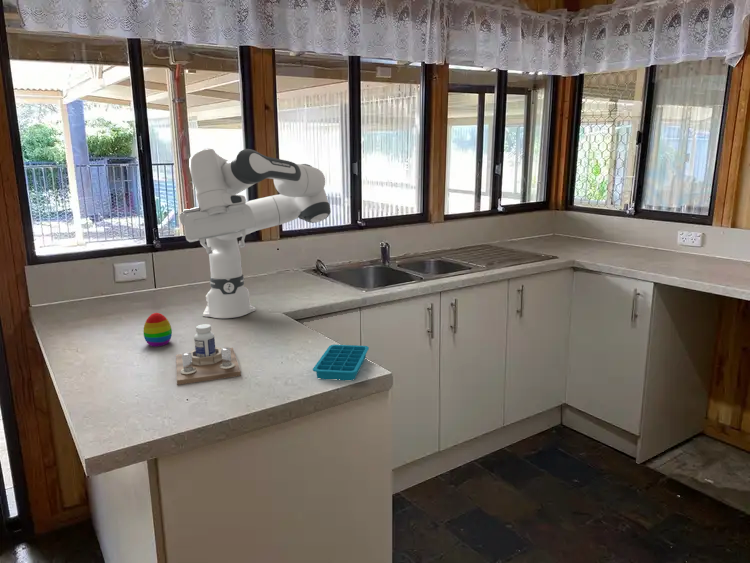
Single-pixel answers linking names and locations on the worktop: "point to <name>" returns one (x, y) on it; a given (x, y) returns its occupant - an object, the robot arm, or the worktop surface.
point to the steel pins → (190, 370)
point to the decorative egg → (157, 330)
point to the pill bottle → (204, 341)
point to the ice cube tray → (341, 362)
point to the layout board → (206, 368)
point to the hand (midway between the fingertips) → (226, 250)
